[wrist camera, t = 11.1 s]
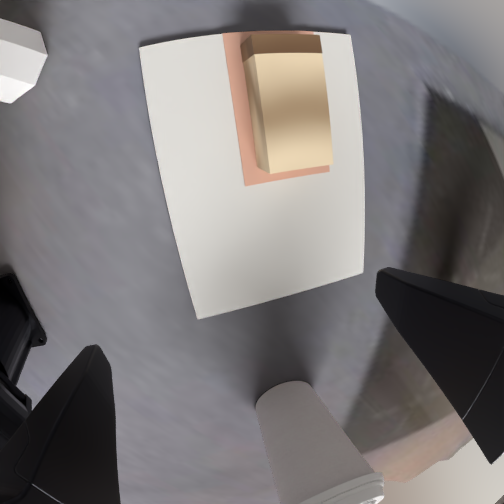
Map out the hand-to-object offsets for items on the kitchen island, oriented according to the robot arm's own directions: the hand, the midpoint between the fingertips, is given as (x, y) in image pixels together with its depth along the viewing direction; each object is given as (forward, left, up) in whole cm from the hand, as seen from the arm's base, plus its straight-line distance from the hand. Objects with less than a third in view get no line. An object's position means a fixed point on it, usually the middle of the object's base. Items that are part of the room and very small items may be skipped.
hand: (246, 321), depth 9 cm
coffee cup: (-22, -4, -12) cm, 25 cm away
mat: (+1, -5, -12) cm, 13 cm away
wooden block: (+6, -6, -12) cm, 14 cm away
